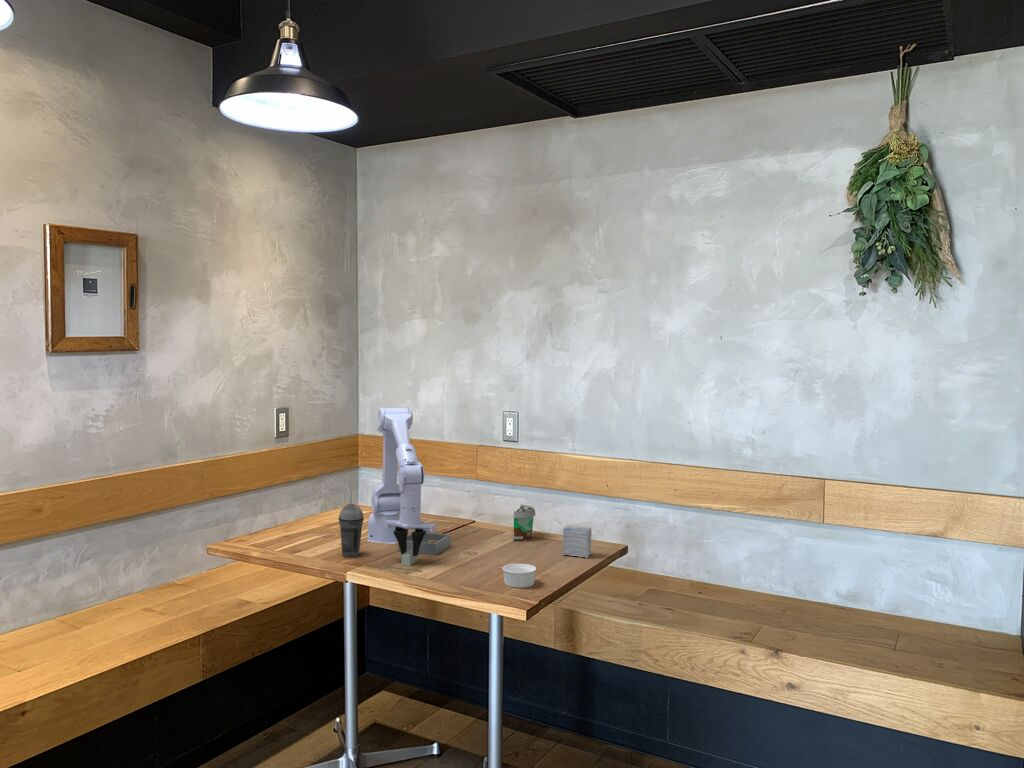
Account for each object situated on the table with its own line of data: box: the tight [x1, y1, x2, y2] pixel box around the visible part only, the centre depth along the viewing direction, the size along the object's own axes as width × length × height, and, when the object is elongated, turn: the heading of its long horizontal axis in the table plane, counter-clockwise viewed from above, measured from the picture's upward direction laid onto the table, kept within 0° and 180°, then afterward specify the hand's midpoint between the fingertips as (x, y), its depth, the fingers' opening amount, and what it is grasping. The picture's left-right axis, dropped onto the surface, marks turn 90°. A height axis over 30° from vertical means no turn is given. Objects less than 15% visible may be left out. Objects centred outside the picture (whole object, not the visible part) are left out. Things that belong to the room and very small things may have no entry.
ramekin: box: [502, 563, 537, 589], centre depth 203 cm, size 9×9×4 cm
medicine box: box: [562, 524, 592, 557], centre depth 232 cm, size 8×4×9 cm, turn 71°
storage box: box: [397, 532, 451, 556], centre depth 234 cm, size 12×12×4 cm
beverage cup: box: [338, 488, 365, 559], centre depth 224 cm, size 7×7×20 cm
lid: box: [380, 550, 423, 573], centre depth 218 cm, size 12×12×4 cm
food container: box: [512, 504, 537, 542], centre depth 252 cm, size 12×6×10 cm, turn 168°
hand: (409, 554), depth 218 cm, fingers open, 3 cm apart
